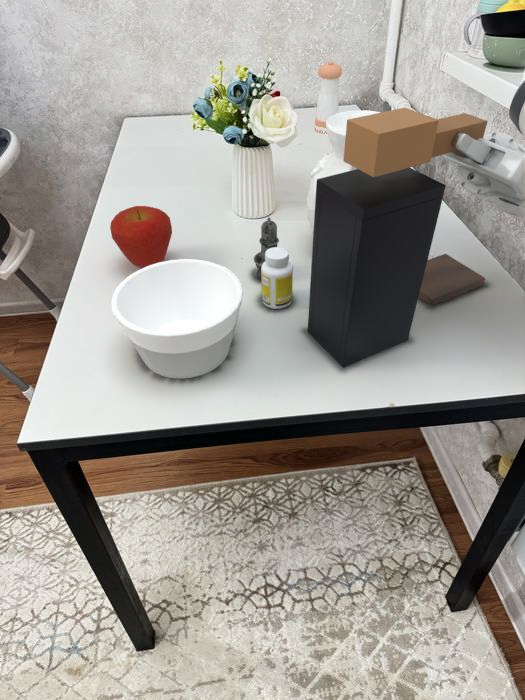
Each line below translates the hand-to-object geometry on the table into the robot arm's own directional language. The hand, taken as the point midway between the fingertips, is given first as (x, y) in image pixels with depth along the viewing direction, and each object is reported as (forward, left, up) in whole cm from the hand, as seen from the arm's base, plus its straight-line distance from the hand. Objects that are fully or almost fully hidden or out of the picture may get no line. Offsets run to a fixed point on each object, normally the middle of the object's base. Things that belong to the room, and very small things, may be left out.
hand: (442, 132), depth 63 cm
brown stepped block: (0, +4, -2) cm, 4 cm away
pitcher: (+23, -6, -31) cm, 39 cm away
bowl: (+11, +35, -31) cm, 48 cm away
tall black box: (0, +9, -30) cm, 32 cm away
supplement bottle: (+15, +16, -31) cm, 38 cm away
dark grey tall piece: (+23, +13, -31) cm, 40 cm away
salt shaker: (+85, -43, -31) cm, 101 cm away
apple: (+38, +32, -31) cm, 58 cm away
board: (+5, -13, -30) cm, 34 cm away
